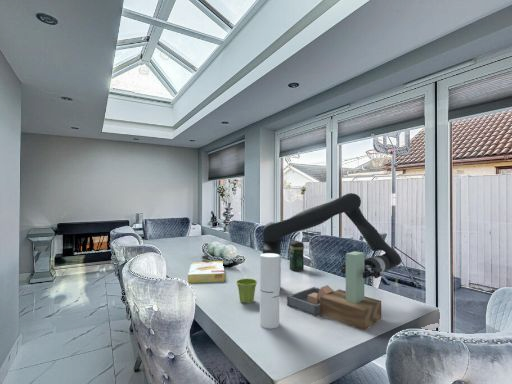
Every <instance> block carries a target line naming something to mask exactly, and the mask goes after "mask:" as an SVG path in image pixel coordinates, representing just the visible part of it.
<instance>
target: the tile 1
mask: <svg viewBox="0 0 512 384" xmlns="http://www.w3.org/2000/svg"><path fill="white" fill-rule="evenodd" d="M317 294H318V293H312V294H309V295H308V297H307V302H309V303H312V304H315V305H317V304H319V303H320V300H319V299H318V298H317V297H316V296H317Z"/></svg>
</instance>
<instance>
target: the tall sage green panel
mask: <svg viewBox="0 0 512 384" xmlns="http://www.w3.org/2000/svg"><path fill="white" fill-rule="evenodd" d="M364 259H365V252H362V251H361V252H360V251H351V252H347V253H345V264H346V273H345V291H346V301H347V302H351V303H354V304H357V303H358V302H360V301H362V300H364V296H365V278H363V272H364Z"/></svg>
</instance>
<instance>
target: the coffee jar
mask: <svg viewBox="0 0 512 384" xmlns="http://www.w3.org/2000/svg"><path fill="white" fill-rule="evenodd" d="M304 245H305V243H304V242H302V241H298V240H291V241H290V242H289V269H290V270H291V271H293V272H302V271H304V269H305V267H304V265H305V264H304V263H305V262H304V250H305V247H304Z"/></svg>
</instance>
